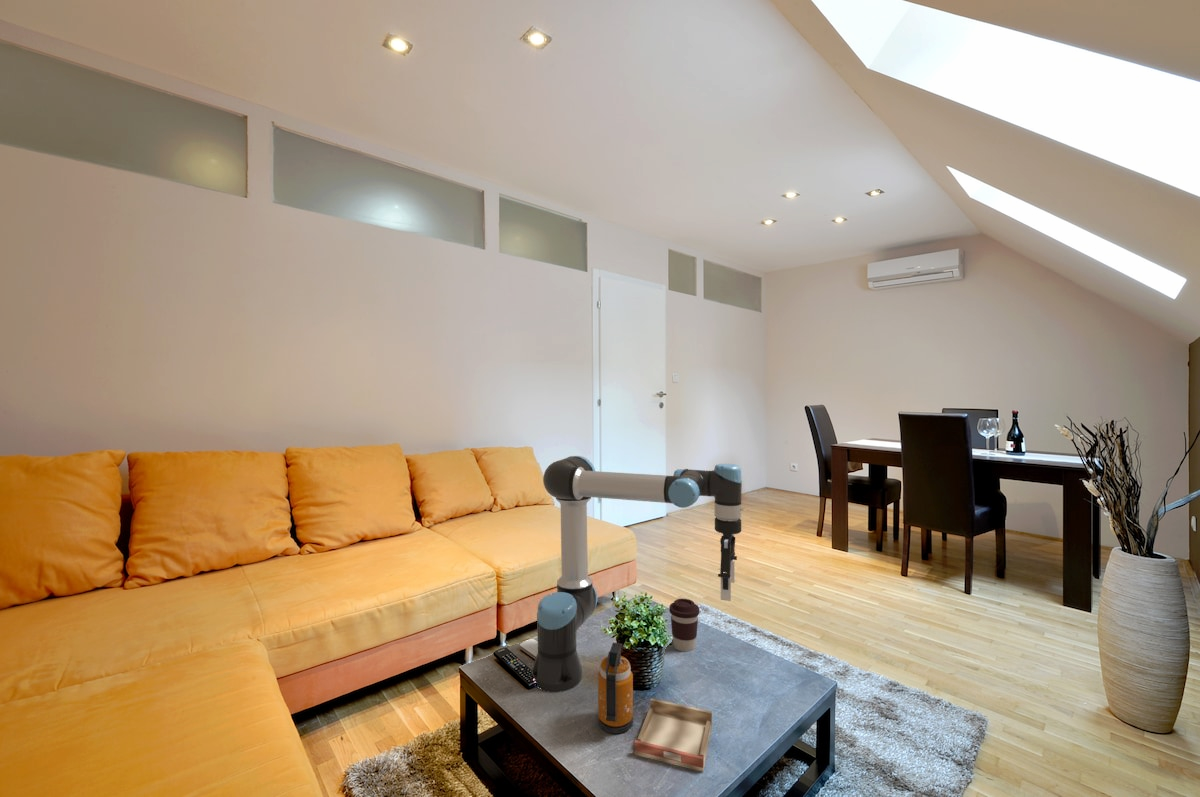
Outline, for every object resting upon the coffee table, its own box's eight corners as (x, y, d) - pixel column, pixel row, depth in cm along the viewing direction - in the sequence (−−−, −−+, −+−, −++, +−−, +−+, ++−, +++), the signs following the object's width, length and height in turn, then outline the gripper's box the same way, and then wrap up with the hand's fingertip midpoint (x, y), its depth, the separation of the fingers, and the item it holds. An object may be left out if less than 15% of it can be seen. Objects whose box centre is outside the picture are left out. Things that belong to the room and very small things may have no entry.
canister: (635, 714, 128) (635, 639, 128) (628, 744, 117) (628, 662, 117) (602, 709, 130) (602, 636, 130) (592, 738, 119) (592, 658, 119)
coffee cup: (701, 642, 165) (701, 598, 165) (696, 657, 156) (696, 611, 155) (673, 637, 168) (672, 594, 168) (666, 651, 159) (666, 606, 159)
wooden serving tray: (634, 755, 113) (634, 739, 113) (650, 713, 129) (650, 698, 129) (703, 773, 108) (703, 756, 108) (712, 726, 123) (711, 711, 123)
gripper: (738, 530, 127) (738, 610, 127) (743, 509, 151) (743, 576, 151) (709, 527, 130) (709, 606, 130) (719, 507, 153) (719, 573, 153)
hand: (727, 590), depth 140 cm, fingers open, 13 cm apart
